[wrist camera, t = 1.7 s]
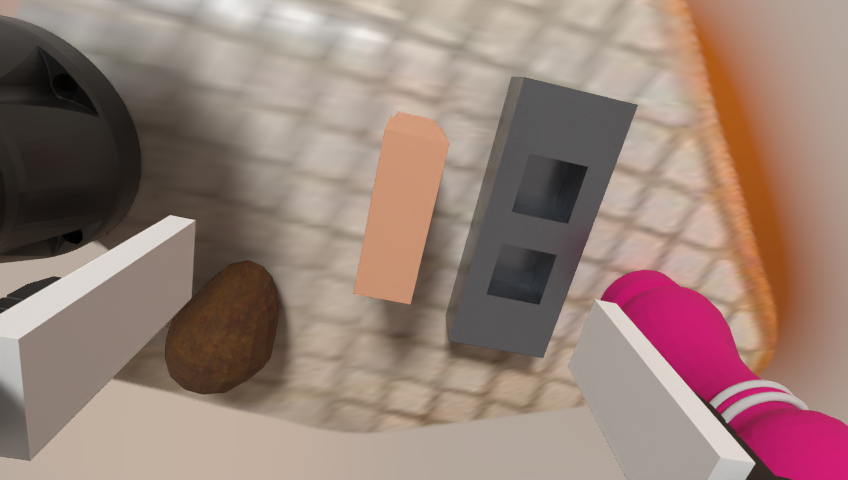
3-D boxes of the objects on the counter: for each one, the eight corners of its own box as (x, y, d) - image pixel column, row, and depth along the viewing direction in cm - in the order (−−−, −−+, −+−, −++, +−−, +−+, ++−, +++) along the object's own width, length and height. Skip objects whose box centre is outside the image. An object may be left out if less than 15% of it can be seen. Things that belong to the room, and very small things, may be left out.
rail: (445, 315, 35) (449, 340, 32) (511, 76, 29) (524, 77, 26) (531, 331, 36) (543, 358, 33) (613, 101, 30) (637, 105, 26)
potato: (311, 276, 34) (286, 325, 27) (259, 378, 37) (226, 444, 30) (221, 234, 32) (173, 276, 26) (175, 344, 36) (122, 405, 29)
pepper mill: (700, 308, 35) (1023, 574, 17) (623, 360, 37) (838, 656, 18) (653, 244, 33) (961, 465, 15) (573, 302, 35) (759, 567, 16)
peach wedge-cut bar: (370, 229, 32) (353, 293, 23) (393, 110, 30) (384, 128, 20) (411, 238, 33) (410, 304, 23) (438, 121, 30) (449, 143, 21)
